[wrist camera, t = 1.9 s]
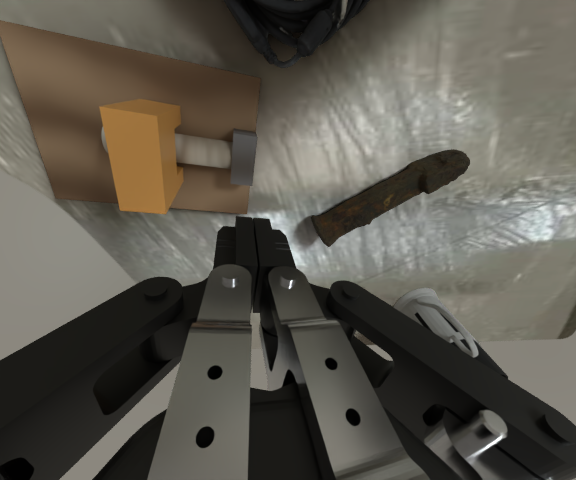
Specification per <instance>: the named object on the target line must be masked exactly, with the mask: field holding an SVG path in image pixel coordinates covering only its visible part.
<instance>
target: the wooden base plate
mask: <svg viewBox="0 0 576 480" xmlns="http://www.w3.org/2000/svg"><path fill="white" fill-rule="evenodd" d="M0 37H1V40H2V43H3V45H4V48H5V51H6V54H7V57H8V60H9V63H10V66H11V69H12V72H13V75H14V78H15V81H16V84H17V86H18V89H19V92H20V95H21V98H22V101H23V104H24V107H25V110H26V113H27V116H28V119H29V122H30V125H31V127H32V130H33V133H34V136H35V139H36V142H37V145H38V148H39V151H40V154H41V157H42V160H43V163H44V166H45V169H46V171H47V174H48V177H49V180H50V183H51V186H52V189H53V192H54V195H55V198H57V199H70V200H82V201H94V202H106V203H118V198H117V193H116V188H115V183H114V178H113V173H112V168H111V163H110V158H109V153H108V148H107V143H106V138H105V133H104V128H103V123H102V118H101V113H100V108H99V106H104V105H110V104H115V103H121V102H126V101H132V100H137V99H144V100H150V101H155V102H161V103H167V104H172V105H178V106H180V114H181V124H180V125H179V126H178V127H176V128H175V129H174V131H175V147H176V164H177V166H179V167H183V180H184V181H183V183H182V185H181V187H180V189H179V191H178V192H177V194H176V196H175V198H174V200H173V202H172V204H171V206H170V207H169V208H178V209H191V210H203V211H215V212H227V213H239V214H247V209H248V199H249V189H250V186H252V182H253V172H254V163H255V154H256V144H257V135H256V132H255V131H256V121H257V111H258V101H259V91H260V82H261V78H258V77H253V76H249V75H244V74H240V73H235V72H231V71H226V70H222V69H217V68H213V67H208V66H204V65H199V64H195V63H190V62H186V61H181V60H177V59H172V58H168V57H163V56H159V55H154V54H150V53H145V52H141V51H136V50H132V49H127V48H122V47H118V46H113V45H109V44H104V43H100V42H95V41H91V40H86V39H82V38H77V37H73V36H68V35H64V34H59V33H55V32H50V31H46V30H41V29H37V28H32V27H28V26H23V25H19V24H14V23H10V22H5V21H1V20H0ZM118 204H119V203H118Z"/></svg>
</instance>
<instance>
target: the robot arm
mask: <svg viewBox="0 0 576 480" xmlns="http://www.w3.org/2000/svg"><path fill="white" fill-rule="evenodd" d="M252 307H253V313H260V319H261V320H260V325H259V334H260V340H261V345H262V350H263V356H264V362H265V368H266V373H267V380H268V381H267V382H268V388H267V389H268V390H267V391H266V390H260V389H255V388H250V375H251V373H250V372H251V339H252V325H250V314H251V310H252ZM356 330H357V331H358V332H360V333H361V334H362V335H364V336H365V337H366V338H368V339H369V340H370V341H372V342H373V343H374V344H376V345H377V346H379V347H380V348H381V349H383V350H384V351H385V352H387V353H388V354H389V355H390V356H391V357H392V359H393V361H388V360H386V359H384V358H382V357H381V356H380V355H378V354H377V353H376V352H374V351H373V350H372V349H370V348H369V347H368V346H366V345H365V344H364V343H362V342H361V341H360V340H358V339H357V338H356V337H355V336H354V334H355V332H356ZM180 361H181V362H180ZM179 362H180V366H179V369H178V373H177V376H176V380H175V383H174V387H173V390H172V394H171V397H170V401H169V404H168V408H167V409H166V410H165V411H163V412H161V413H160V414H158V415H157V416H155V417H154V418H152V419H151V420H150V421H148V422H147V423H146V424H145V425H143V426H142V427H141V428H140V429H139V430H138V431H137V432H136V433H135V434H133V435H132V436H131V437H130V438H129V440H128V441H127V442H126V443H125V444H124V445H123V446H122V447H121V448H120V449H119V450H118V452H117V453H116V454H115V455H114V456H113V457H112V458H111V459H110V460H109V462H108V463H107V464H106V465H105V466H104V467H103V469H101V471H100V472H99V473H98V474H97V475H96V476H95V477H94V478H93V479H92V480H571V479H574V478H576V426H575V425H574V424H573V423H572V422H571V421H570V420H568V419H567V418H566V417H565V416H564V415H562V414H561V413H560V412H558V411H557V410H556V409H554V408H553V407H551V406H549V405H548V404H546V403H544V402H543V401H541V400H540V399H538V398H537V397H535V396H533V395H532V394H530V393H529V392H527V391H526V390H524V389H522V388H521V387H519V386H518V385H516V384H514V383H513V382H511V381H510V380H508V379H507V378H505V377H503V376H502V375H500V374H499V373H497V372H495V371H494V370H492V369H491V368H489V367H487V366H486V365H484V364H483V363H481V362H480V361H478V360H476V359H475V358H473V357H472V356H470V355H468V354H467V353H465V352H464V351H462V350H460V349H459V348H457V347H456V346H454V345H452V344H451V343H449V342H448V341H446V340H445V339H443V338H441V337H440V336H438V335H437V334H435V333H433V332H432V331H430V330H429V329H427V328H425V327H424V326H422V325H421V324H419V323H418V322H416V321H414V320H413V319H411V318H410V317H408V316H406V315H405V314H403V313H402V312H400V311H398V310H397V309H395V308H394V307H392V306H391V305H389V304H387V303H386V302H384V301H383V300H381V299H379V298H378V297H376V296H375V295H373V294H371V293H370V292H368V291H367V290H365V289H363V288H362V287H360V286H359V285H357V284H355V283H352V282H349V281H337V282H334V283H333V284H332V285H331V287H330V289H327V288H323V287H319V286H316V285H313V284H310V283H309V282H308V280H307V278H306V276H305V275H304V274H303V273H302V272H301V271H300V270H298V269H296V266H295V263H294V260H293V256H292V253H291V250H290V247H289V244H288V241H287V238H286V236H285V235H284V234H283V233H282V232H281V231H280V230H273V229H272V228H271V223H270V219H265V218H253V219H252V218H251V217H239V216H236V223H235V227H228V226H223V227H222V228H221V229H220V230H219V231H218V234H217V242H216V250H215V258H214V266H213V270H212V271H211V272H210V274H209V277H208V278H207V279H205V280H203V281H202V282H199V283H197V284H193V285H188V286H184V287H182V286H181V284H180V283H179V282H178V281H177V280H175V279H172V278H169V277H154V278H150V279H146V280H144V281H142V282H140V283H138V284H136V285H135V286H132V287H131V288H129V289H127V290H126V291H124V292H122V293H120V294H118V295H116V296H115V297H113V298H111V299H109V300H108V301H106V302H104V303H102V304H100V305H98V306H97V307H95V308H93V309H91V310H90V311H88V312H86V313H84V314H82V315H81V316H79V317H77V318H75V319H74V320H72V321H70V322H68V323H66V324H65V325H63V326H61V327H59V328H57V329H56V330H54V331H52V332H50V333H48V334H47V335H45V336H43V337H41V338H39V339H38V340H36V341H34V342H32V343H31V344H29V345H27V346H25V347H23V348H22V349H20V350H18V351H16V352H14V353H13V354H11V355H9V356H8V357H6V358H4V359H2V360H0V480H59V479H60V478H61V477H62V476H63V475H64V474H65V473H66V472H67V471H68V470H69V469H70V468H71V467H73V465H75V464H76V463H77V462H78V461H79V460H80V459H81V458H82V457H83V456H84V455H85V454H86V453H87V452H88V451H89V450H90V449H91V448H92V447H93V446H94V445H95V444H96V443H97V442H98V441H99V440H100V439H101V438H102V437H103V436H104V435H105V434H106V433H107V432H108V431H110V430H111V428H113V426H115V425H116V424H117V423H118V422H119V421H120V420H121V419H122V418H123V417H124V416H125V415H126V414H127V413H128V412H129V411H130V410H131V409H132V408H133V407H134V406H135V405H136V404H137V403H138V402H139V401H140V400H141V399H142V398H143V397H144V396H145V395H146V394H148V393H149V392H150V391H151V390H152V389H153V388H154V387H155V386H156V385H157V384H158V383H159V382H160V381H161V380H162V379H163V378H164V377H165V376H166V375H167V374H168V373H169V372H170V371H171V370H172V369H173V368H174V367H175V366H176V365H177V364H178V363H179Z"/></svg>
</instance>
